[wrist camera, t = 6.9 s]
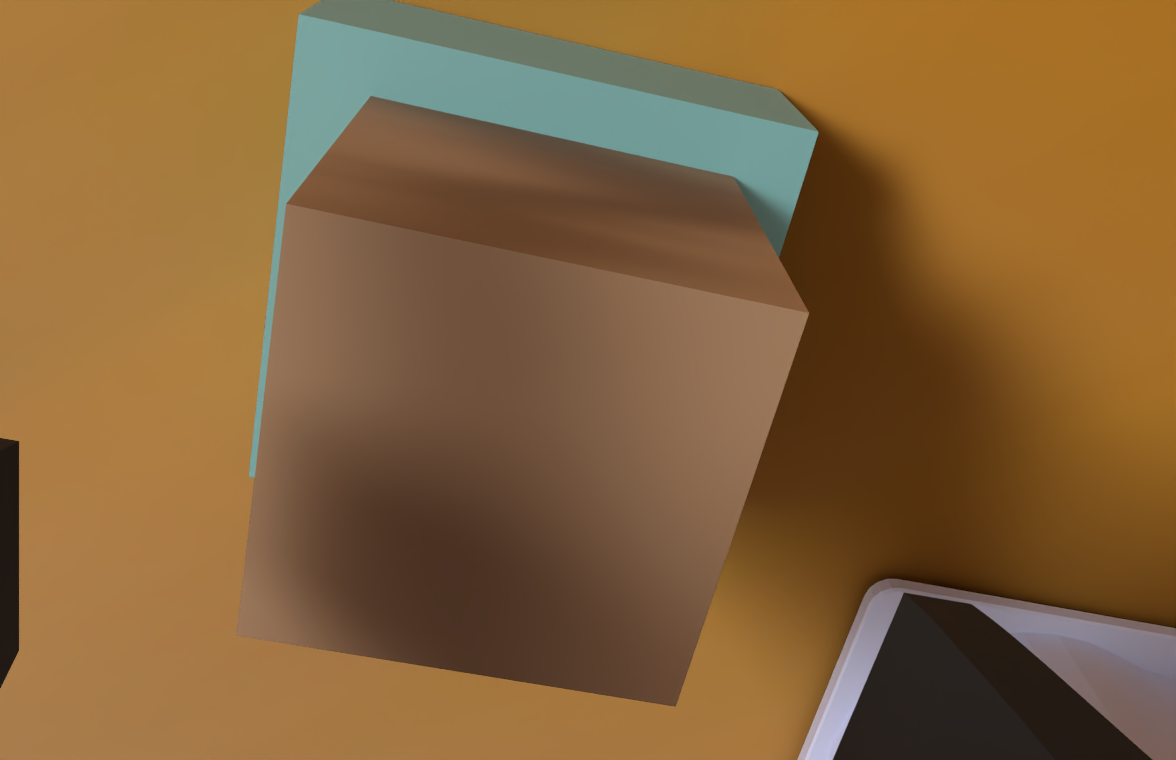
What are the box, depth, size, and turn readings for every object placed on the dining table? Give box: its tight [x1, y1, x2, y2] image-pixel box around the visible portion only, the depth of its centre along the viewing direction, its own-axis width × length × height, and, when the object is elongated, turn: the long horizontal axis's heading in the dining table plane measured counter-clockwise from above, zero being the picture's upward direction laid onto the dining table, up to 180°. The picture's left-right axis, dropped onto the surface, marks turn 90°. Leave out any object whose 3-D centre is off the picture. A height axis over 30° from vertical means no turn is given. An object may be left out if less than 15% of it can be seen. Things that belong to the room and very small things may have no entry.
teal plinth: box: [249, 0, 819, 478], centre depth 17 cm, size 7×7×3 cm
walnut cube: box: [236, 96, 809, 707], centre depth 13 cm, size 5×5×5 cm
